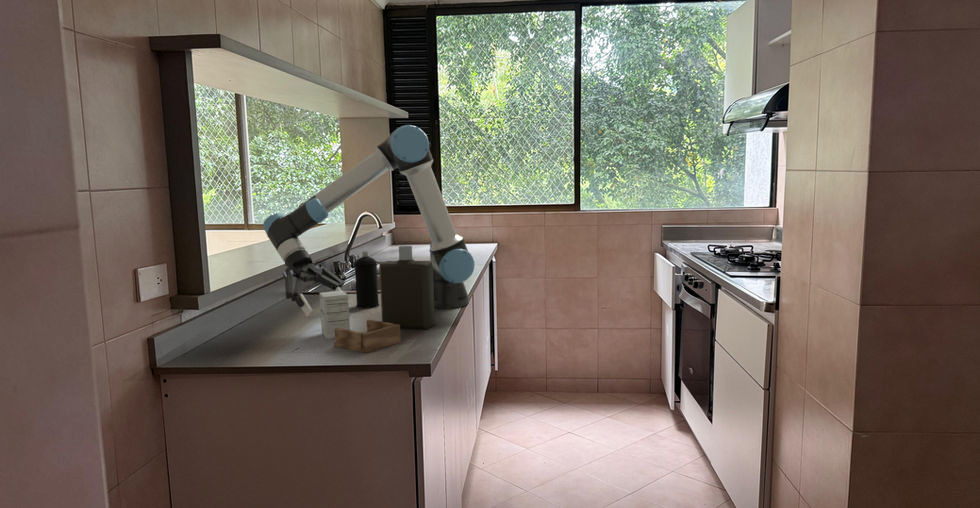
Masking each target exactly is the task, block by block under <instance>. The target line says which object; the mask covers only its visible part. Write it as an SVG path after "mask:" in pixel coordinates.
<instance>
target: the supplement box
mask: <svg viewBox="0 0 980 508" xmlns="http://www.w3.org/2000/svg"><path fill="white" fill-rule="evenodd" d="M348 301H349V294H348V293H346V292H345V291H344V290H343V291H334V290H332V291H326V292H319V306H320V307H319V308H320V309H319V310H320V326H321V334H322V335H323V336H324V337H325V339H327V340H328V339H335V329H336V328H341V329H346V330H351V328H350V327H351V326H350V325H351V324H350V308H349V305H350V301H349V302H348Z"/></svg>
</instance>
